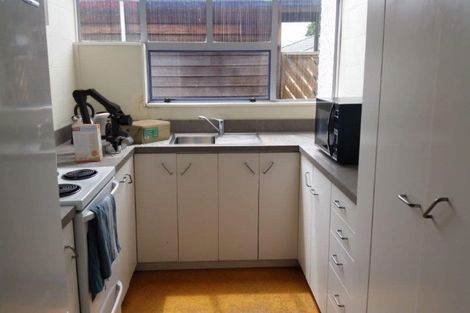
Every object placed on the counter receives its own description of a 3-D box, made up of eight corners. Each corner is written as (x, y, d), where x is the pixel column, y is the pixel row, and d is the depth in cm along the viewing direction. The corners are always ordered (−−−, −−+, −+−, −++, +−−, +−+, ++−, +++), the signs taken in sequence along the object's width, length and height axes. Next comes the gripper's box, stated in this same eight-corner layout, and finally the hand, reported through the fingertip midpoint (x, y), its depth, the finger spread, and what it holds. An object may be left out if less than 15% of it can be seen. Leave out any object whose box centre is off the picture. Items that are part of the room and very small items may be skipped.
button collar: (111, 150, 269) (111, 145, 268) (116, 148, 276) (116, 143, 275) (122, 150, 268) (121, 145, 267) (126, 148, 274) (126, 143, 274)
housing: (95, 154, 256) (95, 145, 255) (102, 151, 264) (101, 143, 263) (105, 154, 255) (104, 145, 254) (110, 151, 263) (110, 143, 262)
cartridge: (100, 153, 258) (99, 146, 257) (103, 151, 262) (103, 144, 261) (118, 153, 256) (118, 146, 255) (121, 151, 260) (121, 144, 259)
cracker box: (103, 159, 242) (99, 123, 237) (100, 161, 236) (96, 124, 231) (78, 160, 241) (75, 124, 237) (75, 162, 235) (71, 125, 231)
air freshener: (135, 143, 290) (134, 129, 288) (132, 145, 282) (131, 131, 280) (119, 144, 291) (118, 130, 288) (116, 146, 282) (115, 131, 280)
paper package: (142, 145, 285) (141, 124, 282) (120, 141, 301) (118, 122, 298) (172, 139, 305) (171, 120, 302) (150, 136, 322) (148, 118, 319)
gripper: (121, 127, 244) (123, 153, 248) (134, 123, 262) (136, 148, 266) (104, 127, 246) (106, 153, 249) (117, 123, 264) (119, 147, 267)
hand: (117, 150), depth 258 cm, fingers closed on cartridge, 4 cm apart
